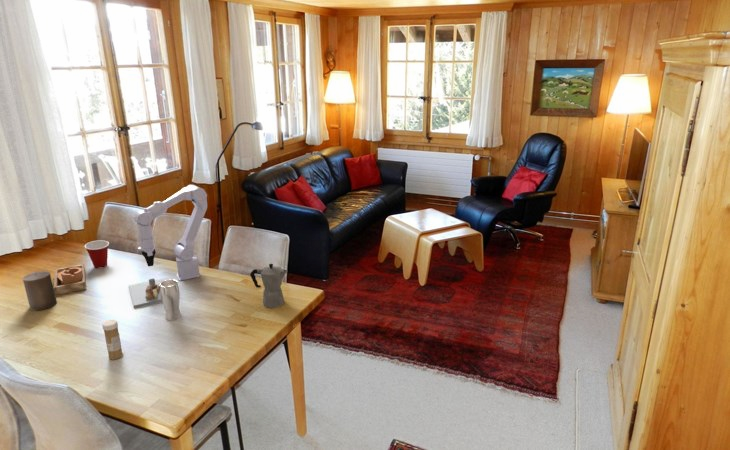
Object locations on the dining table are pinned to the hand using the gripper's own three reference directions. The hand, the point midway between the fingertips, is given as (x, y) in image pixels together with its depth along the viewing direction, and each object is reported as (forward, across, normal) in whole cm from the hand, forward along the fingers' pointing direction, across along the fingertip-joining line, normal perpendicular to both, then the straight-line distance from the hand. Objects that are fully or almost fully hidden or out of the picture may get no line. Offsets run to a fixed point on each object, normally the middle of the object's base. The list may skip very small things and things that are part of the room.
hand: (150, 265), depth 220 cm
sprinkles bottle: (+10, +54, -19) cm, 58 cm away
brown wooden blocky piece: (+8, +11, -2) cm, 14 cm away
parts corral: (+10, -23, -33) cm, 41 cm away
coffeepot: (+10, +43, +41) cm, 60 cm away
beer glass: (+10, +35, +3) cm, 37 cm away
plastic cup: (+10, -37, -20) cm, 43 cm away
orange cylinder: (+10, -23, -33) cm, 41 cm away
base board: (+10, +8, -1) cm, 13 cm away
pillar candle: (+10, -3, -43) cm, 44 cm away
